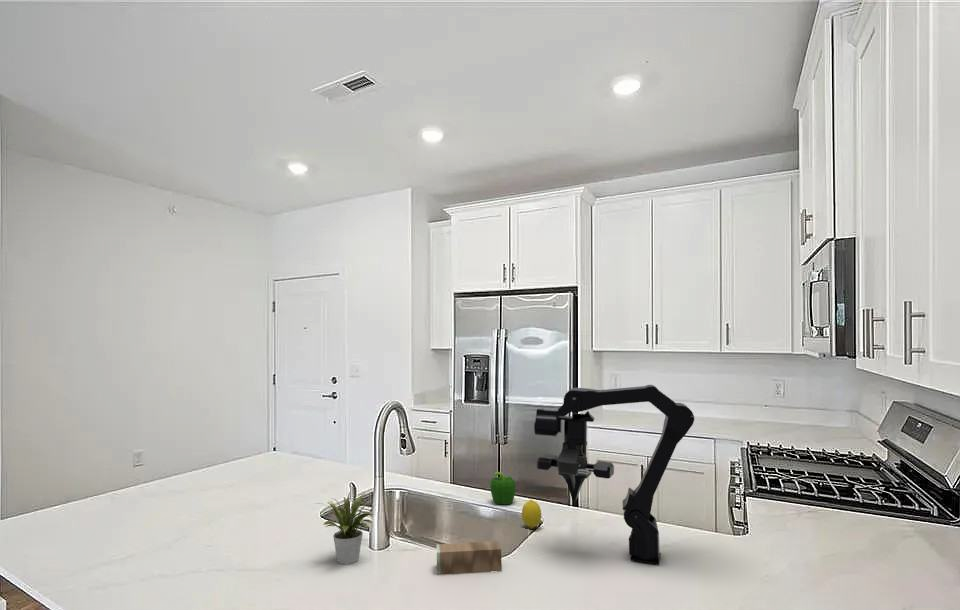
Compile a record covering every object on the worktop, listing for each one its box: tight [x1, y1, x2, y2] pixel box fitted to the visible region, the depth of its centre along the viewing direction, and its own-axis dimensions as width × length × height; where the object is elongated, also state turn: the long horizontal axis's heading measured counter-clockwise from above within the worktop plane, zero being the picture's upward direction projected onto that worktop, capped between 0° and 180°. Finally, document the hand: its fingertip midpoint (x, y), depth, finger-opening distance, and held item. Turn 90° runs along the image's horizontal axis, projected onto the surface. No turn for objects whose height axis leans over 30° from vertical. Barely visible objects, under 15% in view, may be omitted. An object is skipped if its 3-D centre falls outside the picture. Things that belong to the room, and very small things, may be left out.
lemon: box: [521, 499, 542, 530], centre depth 147 cm, size 6×6×8 cm
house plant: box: [313, 491, 375, 565], centre depth 127 cm, size 14×14×16 cm
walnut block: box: [436, 540, 503, 576], centre depth 122 cm, size 5×5×15 cm
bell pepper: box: [490, 471, 517, 506], centre depth 170 cm, size 8×8×10 cm
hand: (574, 500), depth 131 cm, fingers closed
